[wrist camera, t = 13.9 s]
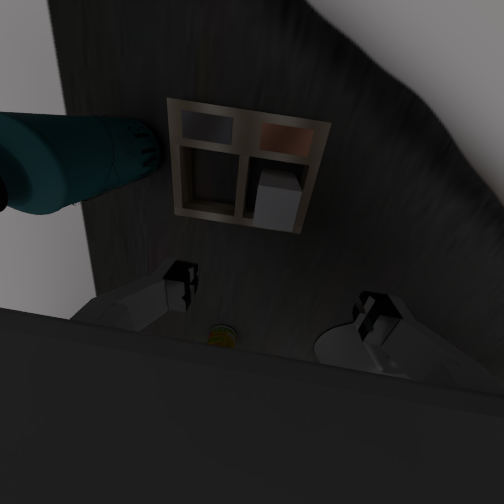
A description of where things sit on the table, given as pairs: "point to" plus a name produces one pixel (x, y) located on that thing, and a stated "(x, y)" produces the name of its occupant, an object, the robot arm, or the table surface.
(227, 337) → the supplement bottle
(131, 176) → the beverage bottle
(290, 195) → the plug
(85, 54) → the table surface
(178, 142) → the socket block
